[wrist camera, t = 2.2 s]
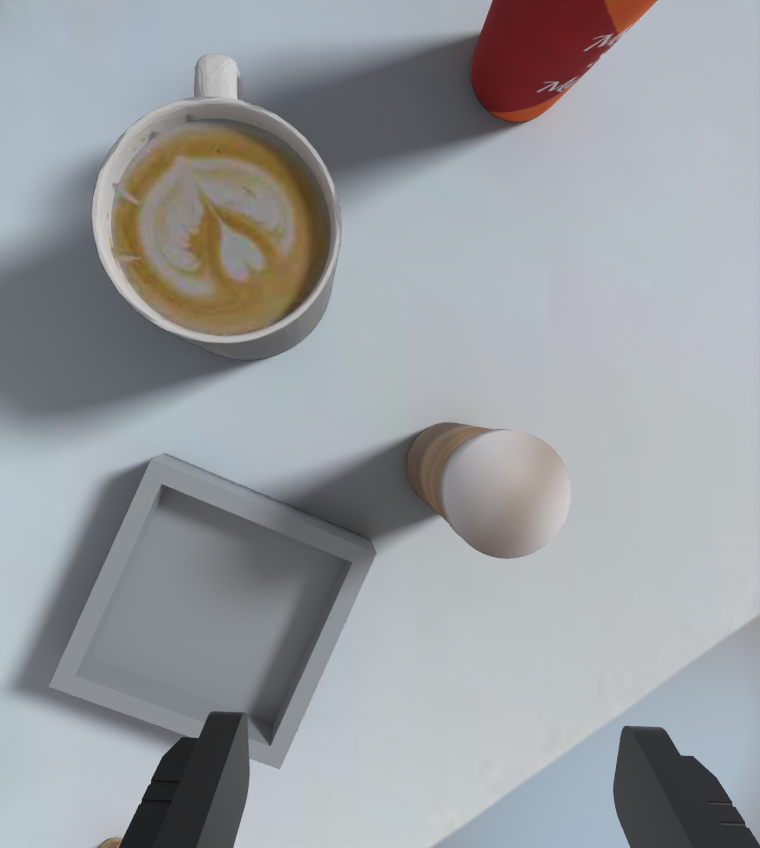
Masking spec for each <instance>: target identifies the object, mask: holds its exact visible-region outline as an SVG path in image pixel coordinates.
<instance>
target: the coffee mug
mask: <svg viewBox="0 0 760 848" xmlns="http://www.w3.org/2000/svg"><path fill="white" fill-rule="evenodd" d="M194 94H195V98H189V99H184V100H180V101H176V102H173V103H170V104H167V105H164V106H161V107H159V108H158V109H156V110H154V111H152V112H150V113H149V114H147V115H145V116H144V117H142V118H140V119H139V120H138V121H137V122H136V123H134V124H133V125H132V126H131V127H130V128H128V129H127V130H126V131H125V132H124V133H123V134H122V135H121V136H120V137H119V139H118V140H117V141H116V143H115V144H114V146H113V147H112V148H111V150H110V151H109V153H108V155H107V157H106V159H105V161H104V163H103V165H102V167H101V169H100V172H99V175H98V178H97V181H96V184H95V187H94V194H93V201H92V228H93V233H94V239H95V245H96V249H97V251H98V254H99V257H100V260H101V262H102V265H103V267H104V269H105V271H106V273H107V275H108V277H109V279H110V280H111V282H112V283H113V285H114V286H115V288H116V289H117V290H118V292H119V293H120V294H121V296H122V297H123V298H124V299H125V300H126V301H127V302H128V303H129V304H130V305H131V306H132V308H133V309H134V310H135V311H137V312H138V313H139V314H141V315H142V316H143V317H144V318H146V319H147V320H148V321H149V322H151V323H152V324H154V325H156V326H157V327H159V328H161V329H162V330H164V331H166V332H168V333H170V334H173V335H175V336H177V337H179V338H181V339H183V340H186V341H188V342H190V343H192V344H194V345H197V346H199V347H201V348H203V349H205V350H208V351H210V352H212V353H215V354H217V355H220V356H224V357H228V358H232V359H240V360H254V359H263V358H268V357H272V356H275V355H278V354H280V353H283V352H285V351H287V350H289V349H290V348H292V347H294V346H296V345H297V344H298V343H300V342H301V341H302V340H304V339H305V338H306V337H307V336H308V335H309V334H310V333H311V332H312V331H313V329H314V328H315V327H316V326H317V324H318V323H319V321H320V320H321V318H322V316H323V314H324V312H325V310H326V308H327V305H328V302H329V299H330V295H331V290H332V285H333V280H334V275H335V270H336V265H337V260H338V255H339V250H340V244H341V230H342V225H341V211H340V206H339V201H338V196H337V192H336V189H335V186H334V183H333V181H332V178H331V176H330V174H329V171H328V169H327V167H326V165H325V164H324V162H323V161H322V159H321V157H320V156H319V154H318V153H317V151H316V150H315V149H314V147H313V146H312V145H311V144H310V143H309V141H308V140H307V139H306V138H305V137H304V136H303V135H302V134H301V133H300V132H299V131H298V130H297V129H296V128H294V127H293V126H292V125H290V124H289V123H288V122H286V121H285V120H283V119H282V118H281V117H279V116H278V115H276V114H274V113H272V112H270V111H268V110H266V109H264V108H263V107H260V106H257V105H254V104H251V103H247V102H245V98H244V92H243V86H242V80H241V75H240V72H239V69H238V66H237V64H236V63H235V61H234V60H233V59H232V58H230V57H227V56H223V55H204V56H203V57H202V58H200V59H199V60H198V62H197V64H196V66H195V83H194Z"/></svg>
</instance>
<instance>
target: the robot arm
mask: <svg viewBox="0 0 760 848" xmlns="http://www.w3.org/2000/svg"><path fill="white" fill-rule="evenodd" d="M249 773H250V769H249V742H248V719H247V714H246V713H245V712H222V711H211V712H210V713H209V715H208V717H207V719H206V722H205V724H204V726H203V729H202V731H201V734H200V736H199V738H188V737H182V738H181V739H180V740H179V741H178V742H177V743H176V744H175V745H174V746H173V747H172V748H171V749H170V750H169V751H168V752H167V753H166V754H165V755H164V756H163V757H162V759H161V761H160V763H159V765H158V767H157V769H156V771H155V773H154V775H153V777H152V779H151V784H150V785H149V786H148V788H147V790H146V792H145V794H144V796H143V798H142V802H141V804H139V806H138V808H137V810H136V813H135V815H134V817H133V819H132V821H131V823H130V825H129V827H128V829H127V831H126V833H125V835H124V837H123V839H122V842H121V844H120V846H119V848H233V846H234V843H235V839H236V835H237V832H238V828H239V825H240V821H241V818H242V814H243V811H244V807H245V803H246V799H247V793H248V786H249ZM613 786H614V787H613V793H614V802H615V808H616V812H617V815H618V818H619V821H620V823H621V826H622V828H623V831H624V833H625V835H626V838H627V840H628V843H629V845H630V848H760V845H759V843H758V842H757V840H756V839H755V837H754V836H753V834H752V832H751V831H750V829H749V828H746V826H745V822H744V820H743V818H742V817H741V815H740V814H739V813H738V811H737V809H736V807H733V805H732V801H731V800H730V798H729V797H728V795H727V794H726V792H725V790H724V789H723V787H722V786H721V784H720V783H719V781H718V779H717V778H716V777H715V776H714V775H713V774H712V773H711V772H710V771H709V770H707V769H706V768H705V767H704V766H703V765H702V764H701V763H700V762H699V761H697V760H696V759H695V758H694V757H693V756H681V755H680V754H679V752H678V750H677V749H676V747H675V745H674V744H673V742H672V740H671V739H670V737H669V735H668V734H667V732H666V731H665V730H664V729H663V728H661V727H640V726H625V727H624V728H623V730H622V733H621V738H620V745H619V751H618V758H617V764H616V771H615V777H614V785H613Z"/></svg>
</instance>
